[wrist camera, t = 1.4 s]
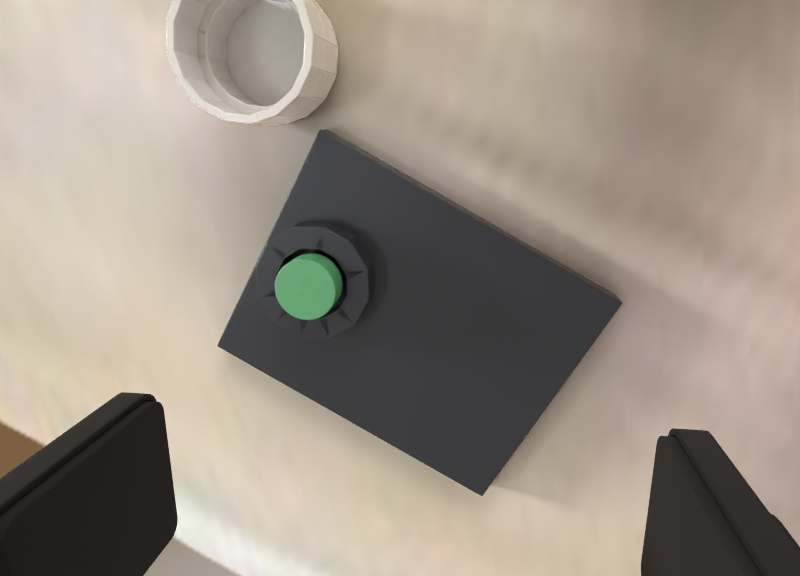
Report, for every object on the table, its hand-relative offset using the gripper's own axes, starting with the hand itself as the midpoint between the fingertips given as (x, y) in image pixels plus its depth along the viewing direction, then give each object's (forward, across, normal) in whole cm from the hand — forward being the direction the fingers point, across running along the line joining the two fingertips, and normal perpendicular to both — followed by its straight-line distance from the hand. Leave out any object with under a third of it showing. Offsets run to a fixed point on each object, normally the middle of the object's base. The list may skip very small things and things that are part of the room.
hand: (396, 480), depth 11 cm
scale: (+22, +2, +4) cm, 22 cm away
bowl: (+22, +10, -10) cm, 26 cm away
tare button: (+19, +7, +1) cm, 20 cm away
